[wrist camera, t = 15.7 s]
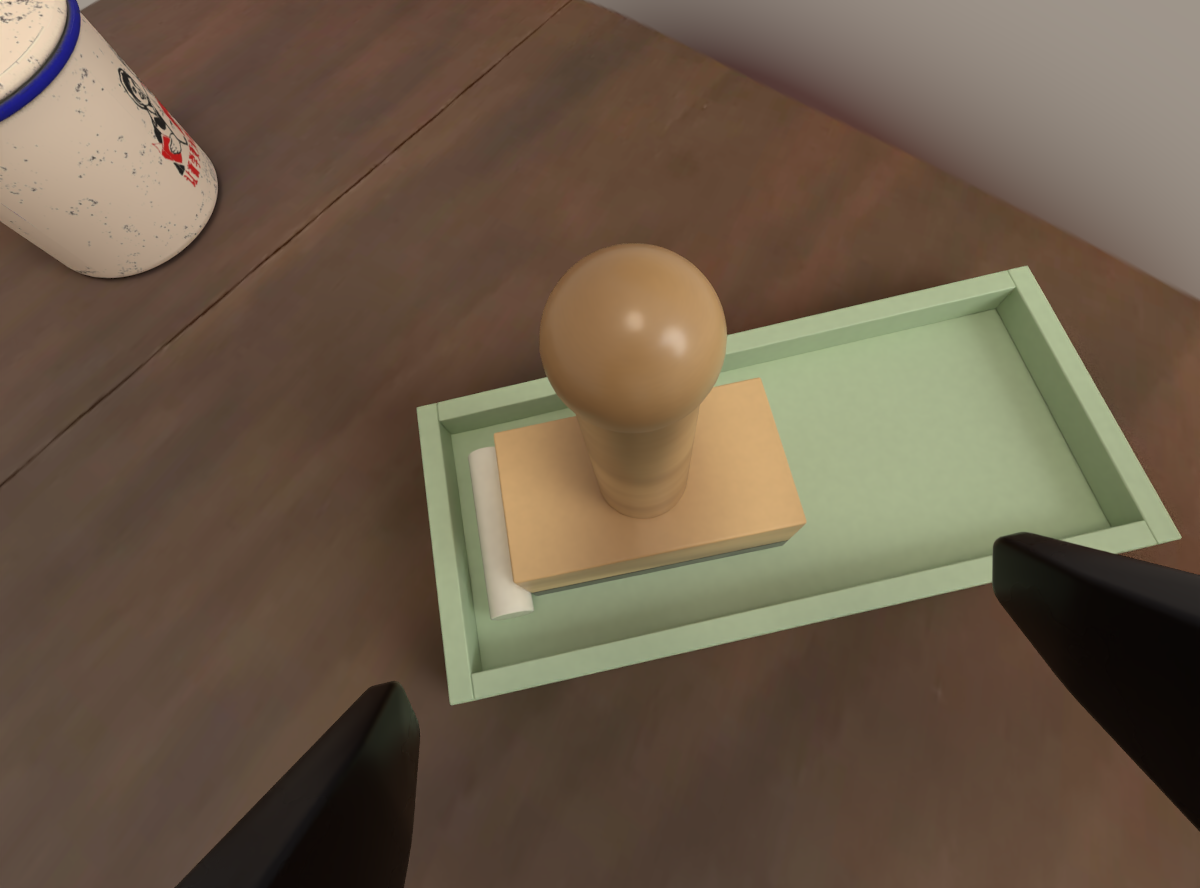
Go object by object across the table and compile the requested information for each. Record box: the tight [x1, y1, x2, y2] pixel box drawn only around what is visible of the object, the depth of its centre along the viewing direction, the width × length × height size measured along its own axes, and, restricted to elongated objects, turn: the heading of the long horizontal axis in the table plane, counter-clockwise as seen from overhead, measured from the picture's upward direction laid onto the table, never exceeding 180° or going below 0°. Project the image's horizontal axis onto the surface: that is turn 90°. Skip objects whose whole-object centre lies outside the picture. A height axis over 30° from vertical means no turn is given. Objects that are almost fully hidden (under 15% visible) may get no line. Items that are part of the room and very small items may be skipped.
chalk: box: [468, 447, 534, 620], centre depth 22 cm, size 6×2×2 cm
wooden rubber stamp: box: [494, 243, 807, 596], centre depth 16 cm, size 9×5×14 cm, turn 101°
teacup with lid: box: [0, 0, 218, 278], centre depth 26 cm, size 12×9×12 cm
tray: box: [417, 266, 1181, 705], centre depth 22 cm, size 24×11×2 cm, turn 102°
